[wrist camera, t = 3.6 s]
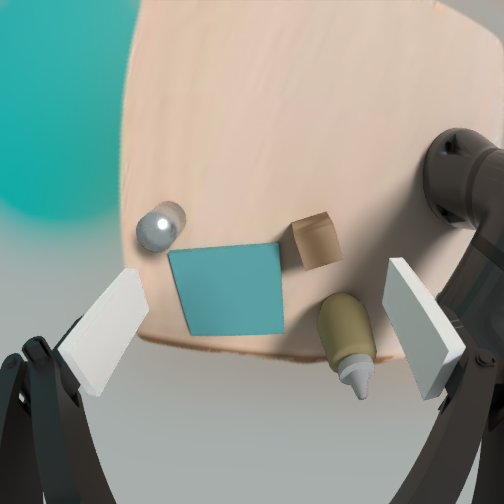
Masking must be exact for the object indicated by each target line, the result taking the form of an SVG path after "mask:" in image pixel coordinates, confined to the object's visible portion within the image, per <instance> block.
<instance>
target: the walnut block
mask: <svg viewBox="0 0 504 504" xmlns="http://www.w3.org/2000/svg"><path fill="white" fill-rule="evenodd" d="M292 228H293V234H294V238H295V241H296V244H297V247H298V250H299V253H300V256H301V259H302V262H303V265H304V268H305V271H308V270H311V269H314V268H317V267H321V266H324V265H327V264H330V263H334V262H337V261H340V260H343V258H342V254H341V250H340V246H339V242H338V239H337V235H336V231H335V228H334V224H333V222H332V221H331V219H330V217H329V215H328V214H327V212H323V213H320V214H317V215H314V216H311V217H307V218H304V219H301V220H298V221H295V222H292Z"/></svg>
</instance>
